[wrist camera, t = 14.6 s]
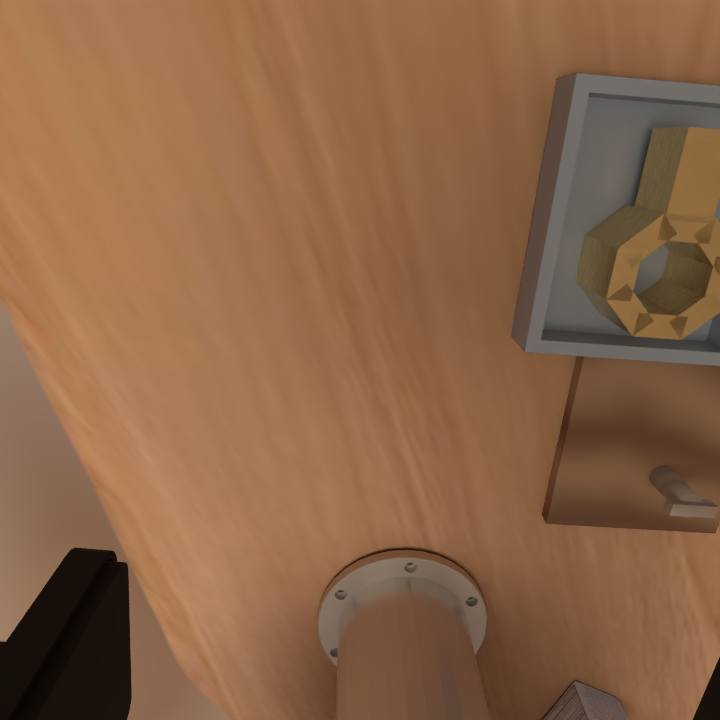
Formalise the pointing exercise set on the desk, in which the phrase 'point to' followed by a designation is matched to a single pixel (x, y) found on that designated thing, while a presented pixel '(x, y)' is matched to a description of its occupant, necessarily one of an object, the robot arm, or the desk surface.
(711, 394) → the board
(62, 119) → the desk surface
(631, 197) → the tray
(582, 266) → the ring
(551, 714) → the medicine box
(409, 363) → the desk surface
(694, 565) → the desk surface
